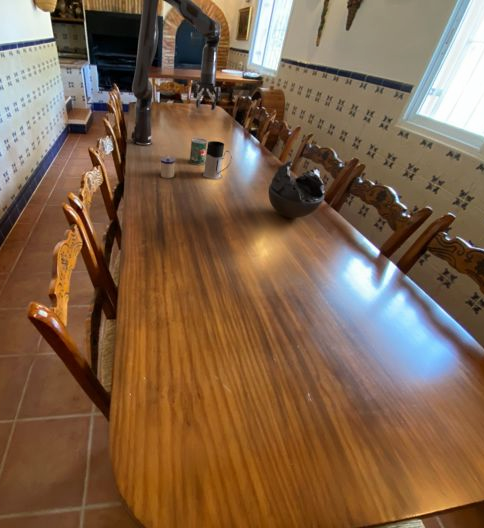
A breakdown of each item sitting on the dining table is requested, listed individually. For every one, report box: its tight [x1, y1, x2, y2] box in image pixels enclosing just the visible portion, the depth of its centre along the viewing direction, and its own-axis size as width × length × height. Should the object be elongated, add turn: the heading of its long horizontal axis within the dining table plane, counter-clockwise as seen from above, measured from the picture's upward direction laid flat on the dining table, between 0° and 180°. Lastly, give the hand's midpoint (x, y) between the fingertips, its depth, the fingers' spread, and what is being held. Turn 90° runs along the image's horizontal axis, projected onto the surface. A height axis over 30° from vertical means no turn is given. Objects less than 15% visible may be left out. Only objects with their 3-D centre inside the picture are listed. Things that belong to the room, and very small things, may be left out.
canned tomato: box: [189, 138, 208, 166], centre depth 154 cm, size 8×8×11 cm
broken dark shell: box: [267, 161, 325, 219], centre depth 111 cm, size 20×20×19 cm
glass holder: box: [202, 140, 233, 180], centre depth 138 cm, size 9×14×15 cm, turn 44°
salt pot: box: [160, 155, 176, 179], centre depth 139 cm, size 7×7×9 cm
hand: (205, 108), depth 155 cm, fingers open, 8 cm apart
